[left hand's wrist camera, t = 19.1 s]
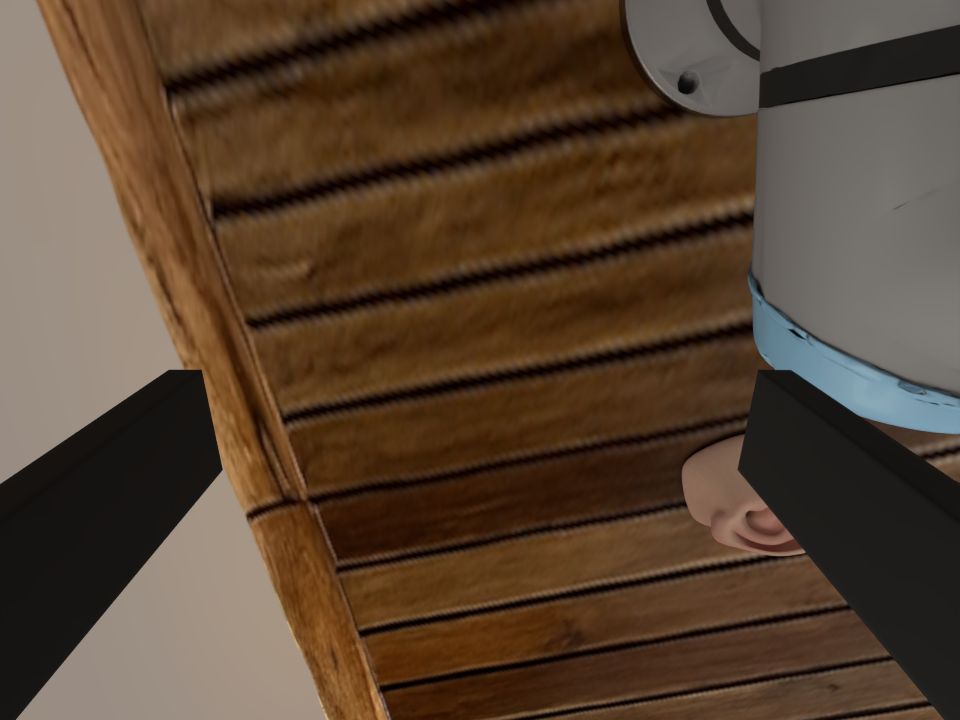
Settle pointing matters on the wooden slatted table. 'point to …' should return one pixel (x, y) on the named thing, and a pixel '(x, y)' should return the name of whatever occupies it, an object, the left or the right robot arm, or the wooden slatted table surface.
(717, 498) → the anatomical model
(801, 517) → the left robot arm
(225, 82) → the wooden slatted table surface
